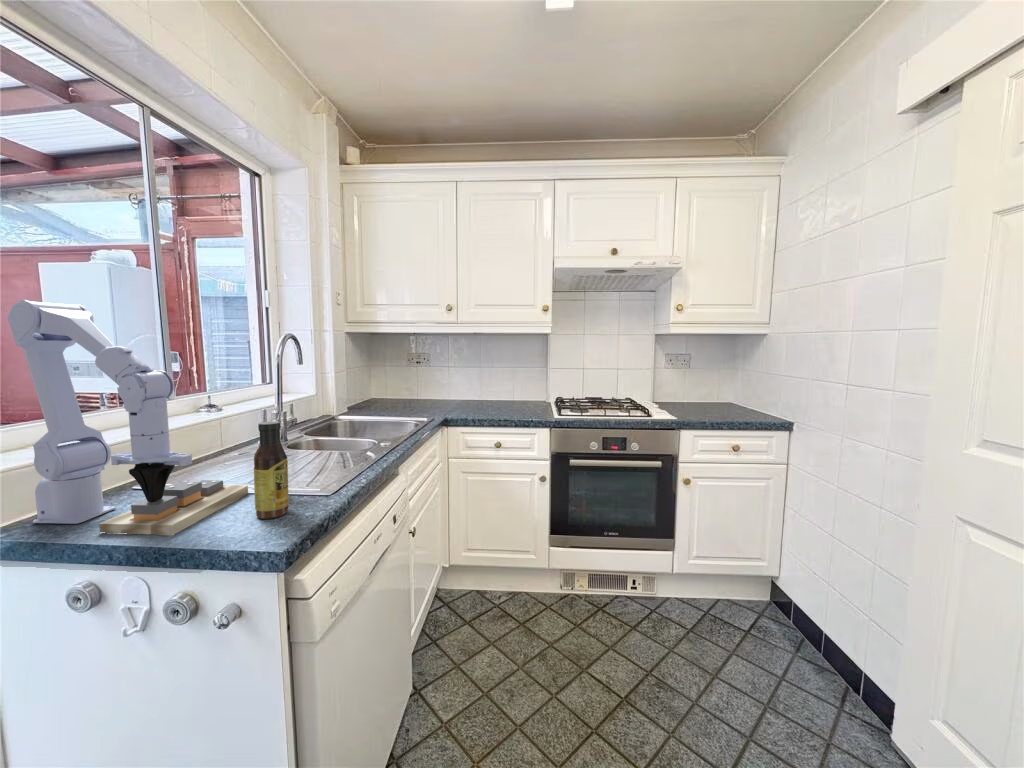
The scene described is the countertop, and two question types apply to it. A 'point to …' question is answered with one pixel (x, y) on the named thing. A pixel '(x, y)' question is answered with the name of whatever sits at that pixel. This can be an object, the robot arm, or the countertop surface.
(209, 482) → the three-dot tile
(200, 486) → the two-dot tile
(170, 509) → the grey square block
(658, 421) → the countertop surface
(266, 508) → the sauce bottle
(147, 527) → the beige drawer frame
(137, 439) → the robot arm
